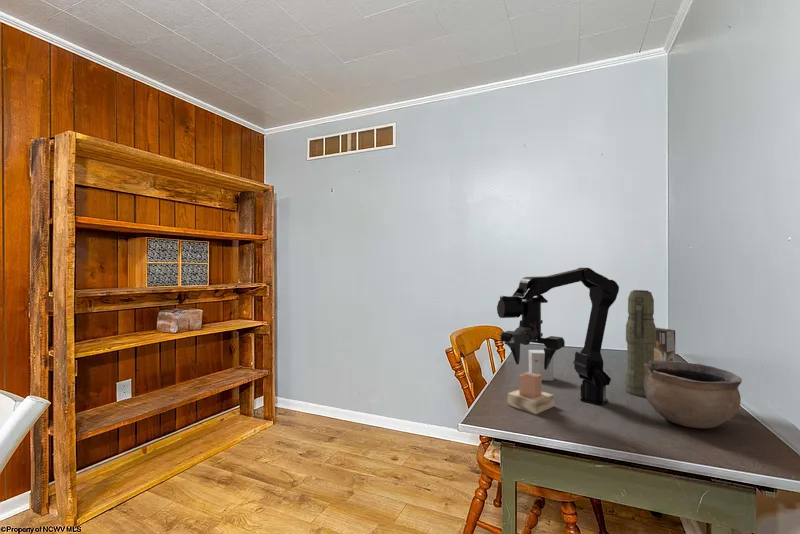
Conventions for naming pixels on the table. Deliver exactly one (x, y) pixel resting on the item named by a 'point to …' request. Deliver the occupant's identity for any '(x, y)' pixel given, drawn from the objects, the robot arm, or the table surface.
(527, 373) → the terracotta block
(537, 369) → the small box
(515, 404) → the birch base block
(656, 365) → the ceramic bowl
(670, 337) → the coffee box
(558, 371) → the table surface
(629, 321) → the thermos
